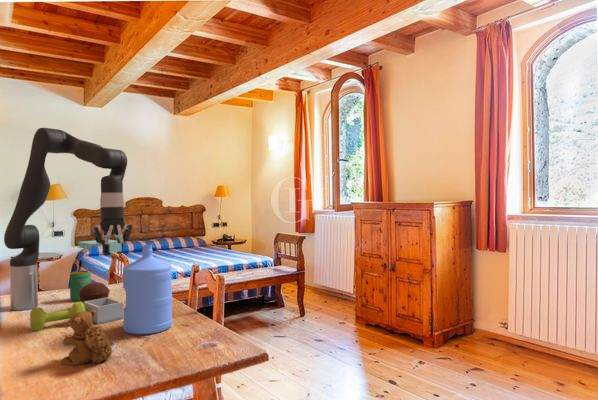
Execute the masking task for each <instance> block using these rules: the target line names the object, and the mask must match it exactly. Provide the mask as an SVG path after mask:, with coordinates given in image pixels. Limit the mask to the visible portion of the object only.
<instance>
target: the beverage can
mask: <svg viewBox="0 0 598 400" xmlns="http://www.w3.org/2000/svg"><path fill="white" fill-rule="evenodd" d="M89 283H92V276H91V273H90V270H77V271H72V272H71V274H70V275H69V300H71V302H72V303H73V302H74V303H75V302H80V295H79V292H80V291H81V289H82V288H83V287H84V286H86V285H87V284H89Z"/></svg>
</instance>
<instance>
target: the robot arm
mask: <svg viewBox="0 0 598 400" xmlns="http://www.w3.org/2000/svg"><path fill="white" fill-rule="evenodd" d="M48 153H49V154H50V153H51V154H71V155H74V156H75V157H76V158H77V159H79V160H82V161H83V162H86V163H90V164H92V165H94V166H95V167H97V168H100V169H105V170H110V172H109V175H105V176H102V177H101V180H100V199H99V200H100V206H99V208H100V213H99V214H100V222H99V224H98V225H96V226H92V227H91V232H92V234H93V236H94V240H96V242H97V243H100V244H102V245H101V246H102V254H103V256H109V254H110V252H109V245H108V242H109V240H110V238H111V235H114V237H115V239H116V241H117V242H118V243H121V245H122V251H120V252H116V253H117V255H121V254H122V253H123V252H124V243H125V242H128V241H129V240H130V236H131V232H132V229H133V225H132V224H127V223H126V222H125V208H124V207H125V200H124V198H125V197H124V195H123V194H124V191H123V190H124V188H123V187H124V186H123V185H124V184H123V181H124V177H125V174H126V170H127V167H128V157H127V154H126V152H124V151H123V150H121V149H114V148H107V147H104V146H101V145H100V144H97V143H94V142H91V141H86V140H83V139H80V138H77V137H76V136H73V135H71V134H69V133H68V132H67V131H65V130H62V129H57V128H50V127H39V128H38V129H37V130H36V131H35V133H34V135H33V139H32V143H31V148H30V154H29V159H28V164H27V168H26V171H25V175H24V177H23V180H22V184H21V186H20V190H19V193H18V197H17V201H16V204H15V206H14V209H13V212H12V215H11V217H10V219H9V222H8V224H7V226H6V228H5V232H4V236H3V242H4V245H5V247H6V248H7V249H10V250H19V249H22V251H21V252H20V253H18V254H17V255H16V256H14V257H12V258H10V260H9V278H10V279H9V281H10V282H9V284H10V288H9V289H10V295H9V296H10V299H9V300H10V310H11V311H26V310H30V309H31V310H32V309H33V308H38V305H39V296H38V295H39V293H38V292H39V291H38V288H39V287H38V284H39V283H38V259H39V255H40V231H39V229H38V227H37V226H36V225H34V224H27V221H28V220H29V219H30V217H31V216H33V215H34V214H35V213H36V212H37V211H38V210H39V209H40V208H41V207H42V206H43V205H44V203H45V202H46V200H47V199H48V195H49V192H50V188H51V181H50V178H49V175H48V173H47V170H46V166H45V164H46V163H45V162H46V158H47V155H48ZM101 230H102V233H103V234H101V233H100V232H101ZM123 230H124V232H123Z"/></svg>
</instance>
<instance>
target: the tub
mask: <svg viewBox="0 0 598 400" xmlns="http://www.w3.org/2000/svg"><path fill="white" fill-rule="evenodd" d="M84 306H85V311H88V312H90V311H92V310H95V311H96V312H95V314H94V316H93V317H92V322H93V324H95V325H103V324H107V323H111V322H114V321H115V322H116V321H119V320H124V302H123V301H120V300H118V299H114V298H112V297H109V296H108V297H106V298H101V299H96V300H90V301H85V302H84Z"/></svg>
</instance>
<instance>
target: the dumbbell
mask: <svg viewBox="0 0 598 400" xmlns="http://www.w3.org/2000/svg"><path fill="white" fill-rule="evenodd" d="M81 311H85V306H84V304H83V303H82V302H74V303H72V306H71V308H69V309H68V310H58V311H57V310H56V311H52V312H46V311H45V310H44V309H43V308H42V307H38V306H37V307H35V308H31V310H30V315H29V324H30V327H31V328H30V329H31V330H32V331H33V332H39V331H41V330H43V329H44V327H45V324H47V323H48V322H57V321H64V320H68V319H69V320H70V319H71V317H72V316H73V315H75V314H76V313H78V312H81Z"/></svg>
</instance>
